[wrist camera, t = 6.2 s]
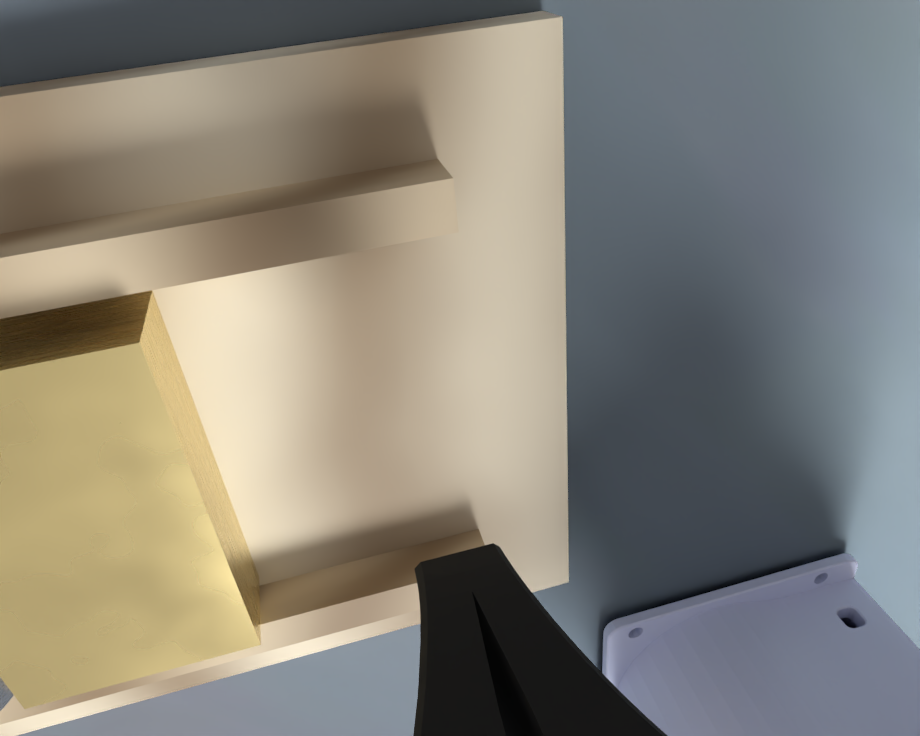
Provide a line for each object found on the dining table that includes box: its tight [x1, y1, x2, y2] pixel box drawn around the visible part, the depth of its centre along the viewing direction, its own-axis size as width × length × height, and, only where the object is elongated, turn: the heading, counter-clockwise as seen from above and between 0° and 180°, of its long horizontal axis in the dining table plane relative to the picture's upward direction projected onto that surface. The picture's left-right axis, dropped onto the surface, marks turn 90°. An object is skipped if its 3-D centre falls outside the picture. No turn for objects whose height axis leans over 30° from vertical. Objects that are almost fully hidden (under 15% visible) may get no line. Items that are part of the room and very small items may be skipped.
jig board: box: [0, 11, 569, 736], centre depth 15 cm, size 21×15×2 cm
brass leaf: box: [0, 290, 261, 709], centre depth 14 cm, size 7×8×2 cm
